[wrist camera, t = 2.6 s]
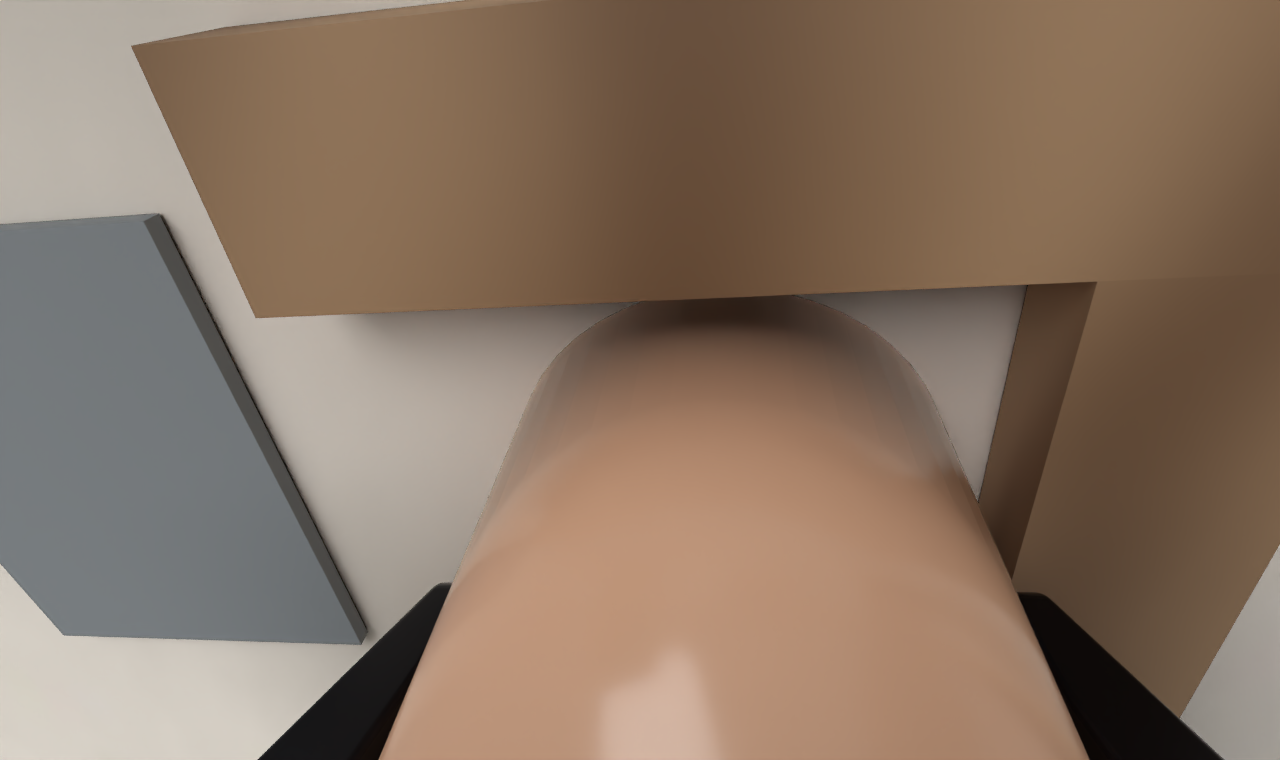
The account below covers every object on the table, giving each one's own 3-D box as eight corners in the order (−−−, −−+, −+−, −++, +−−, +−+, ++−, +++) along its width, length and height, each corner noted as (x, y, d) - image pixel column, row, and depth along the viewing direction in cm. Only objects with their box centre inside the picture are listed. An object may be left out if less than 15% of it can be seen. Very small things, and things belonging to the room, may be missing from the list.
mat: (158, 213, 9) (143, 221, 9) (367, 632, 14) (361, 644, 14) (-253, 241, 10) (-276, 249, 10) (74, 623, 15) (63, 635, 15)
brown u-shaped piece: (1471, -112, 6) (1664, -122, 5) (1085, 737, 14) (1121, 819, 12) (224, 27, 8) (130, 46, 7) (488, 710, 15) (467, 779, 14)
